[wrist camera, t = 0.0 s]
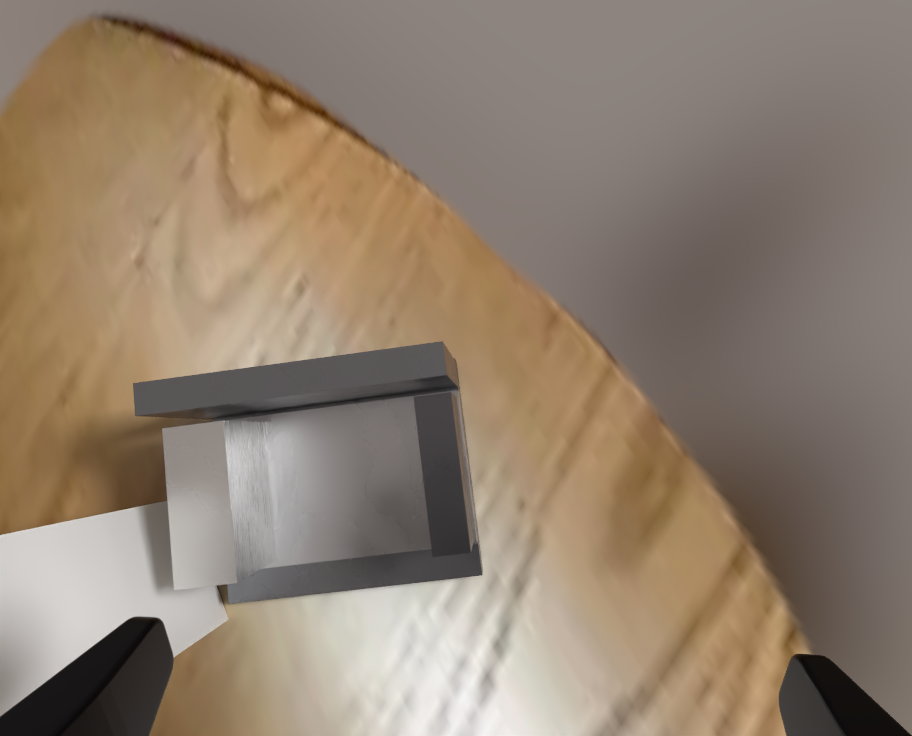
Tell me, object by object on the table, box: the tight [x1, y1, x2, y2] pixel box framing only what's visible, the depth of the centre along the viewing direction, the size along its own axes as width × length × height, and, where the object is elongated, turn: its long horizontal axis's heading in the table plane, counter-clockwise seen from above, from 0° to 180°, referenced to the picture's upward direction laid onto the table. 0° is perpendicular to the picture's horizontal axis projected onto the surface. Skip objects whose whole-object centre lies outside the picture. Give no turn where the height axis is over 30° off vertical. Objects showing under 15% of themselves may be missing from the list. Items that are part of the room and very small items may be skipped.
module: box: [0, 501, 228, 716], centre depth 19 cm, size 5×4×12 cm
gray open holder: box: [133, 342, 483, 604], centre depth 21 cm, size 8×10×6 cm
